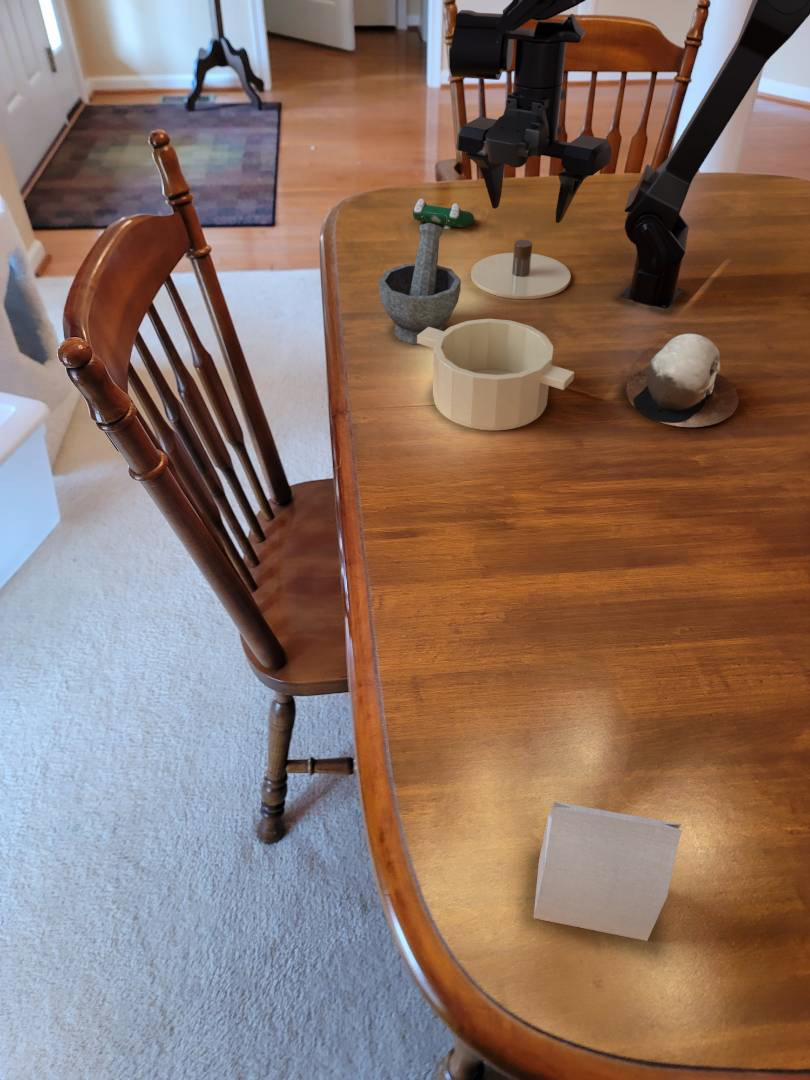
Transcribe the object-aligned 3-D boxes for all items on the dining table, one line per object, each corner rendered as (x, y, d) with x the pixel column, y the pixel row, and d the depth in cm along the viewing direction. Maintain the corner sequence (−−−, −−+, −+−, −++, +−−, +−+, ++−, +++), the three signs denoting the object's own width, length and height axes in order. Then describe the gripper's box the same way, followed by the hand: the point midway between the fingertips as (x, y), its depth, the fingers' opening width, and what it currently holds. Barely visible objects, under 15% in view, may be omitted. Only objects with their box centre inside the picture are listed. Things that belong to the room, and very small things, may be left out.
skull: (655, 346, 99) (726, 304, 91) (699, 421, 100) (773, 386, 91) (599, 383, 93) (669, 342, 84) (646, 462, 93) (720, 430, 85)
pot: (450, 351, 101) (452, 302, 97) (587, 396, 93) (596, 345, 89) (392, 400, 93) (390, 349, 89) (536, 452, 86) (542, 399, 81)
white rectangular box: (647, 940, 50) (683, 860, 43) (533, 918, 51) (551, 836, 44) (646, 881, 52) (680, 797, 46) (538, 861, 53) (556, 776, 47)
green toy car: (415, 232, 132) (404, 215, 126) (421, 209, 132) (411, 191, 126) (470, 240, 129) (462, 224, 124) (476, 217, 129) (468, 199, 124)
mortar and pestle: (446, 356, 100) (449, 260, 92) (372, 346, 102) (368, 251, 94) (467, 313, 108) (471, 221, 100) (398, 305, 110) (396, 213, 102)
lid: (500, 252, 122) (503, 215, 118) (586, 274, 116) (591, 236, 113) (452, 287, 114) (453, 249, 110) (542, 313, 108) (546, 274, 104)
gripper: (434, 87, 97) (433, 220, 108) (581, 111, 90) (564, 252, 100) (482, 66, 104) (476, 193, 115) (622, 87, 96) (602, 221, 107)
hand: (526, 214), depth 109 cm, fingers open, 9 cm apart
